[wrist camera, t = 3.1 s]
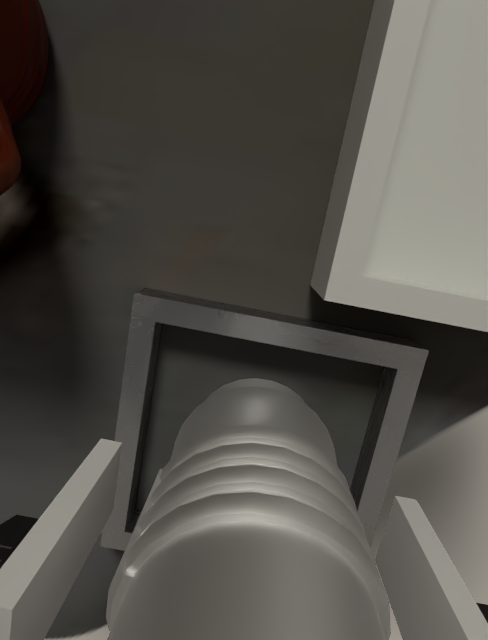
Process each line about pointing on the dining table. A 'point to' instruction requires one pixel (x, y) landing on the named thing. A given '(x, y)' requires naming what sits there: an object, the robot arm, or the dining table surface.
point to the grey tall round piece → (249, 533)
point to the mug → (19, 75)
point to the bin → (414, 169)
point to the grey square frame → (281, 330)
